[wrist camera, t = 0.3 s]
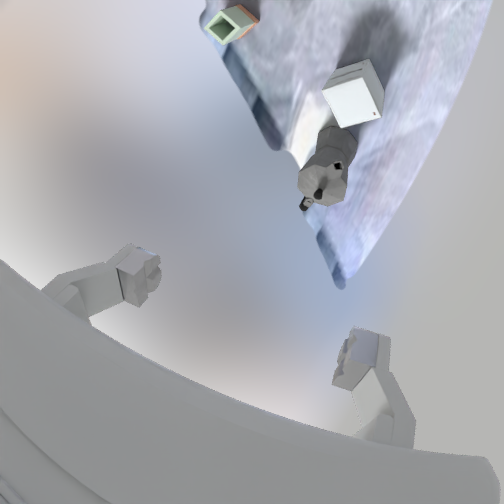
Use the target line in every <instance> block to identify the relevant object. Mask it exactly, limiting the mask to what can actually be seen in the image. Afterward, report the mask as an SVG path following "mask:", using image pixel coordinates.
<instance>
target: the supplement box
mask: <svg viewBox="0 0 504 504" xmlns="http://www.w3.org/2000/svg"><path fill="white" fill-rule="evenodd" d="M322 93H323V95H324V97H325V99H326V100H327V102H328V104H329V106H330V108H331V110H332V112H333V114H334V116H335V118H336V120H337V122H338V124H339V126H340V128H344V127H348V126H351V125H355V124H359V123H363V122H366V121H370V120H374V119H378V118H382V111H383V102H384V93H385V91H384V89H383V87H382V84H381V82H380V80H379V78H378V76H377V74H376V71H375V69H374V67H373V65H372V63H371V61H370V59H366V60H363V61H360V62H358V63H355V64H351V65H348V66H345V67H342V68H339V69H336V70H335V71H334V72H333V74H332V75H331V77H330V78H329V80H328V81H327V83H326V84H325V86H324V87H323V89H322Z"/></svg>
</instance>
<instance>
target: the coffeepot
mask: <svg viewBox="0 0 504 504" xmlns="http://www.w3.org/2000/svg"><path fill="white" fill-rule="evenodd" d="M357 145H358V143H357V142H356V140H355V139H354V137H353V136H352V134H351V133H350V132H349V131H348V130H345V129H343V128H340V127H333V126H330V127H329V128H326V129H324V130H323V131H321V132H320V133H318V138H317V145H316V151H315V154H314V155H313V156H312V157H311V158H310V159H309V160H308V162H307V163H306V164H305V165H304V167H303V168H302V169H301V170H300V171H299V176H298V186H297V187H298V188H299V190H300V191H301V192H302V193H303V194H304V199H303V200H302V202H301V204H300V206H299V207H300V209H301V210H302V211H306V210H307V209H308V207H310V206H311V205H312V204H313V202H314V203H318V204H321V205H325V206H330V205H333V204H335V203H338V202H341V201H343V200H344V196H345V192H346V188H347V178H348V167H349V165H350V164H351V162H352V161H353V159H354V157H355V154H356V149H357Z"/></svg>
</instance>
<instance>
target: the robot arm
mask: <svg viewBox="0 0 504 504" xmlns="http://www.w3.org/2000/svg"><path fill="white" fill-rule="evenodd" d="M159 264H160V257H159V256H158V255H156V254H154V253H152V252H150V251H147V250H145V249H143V248H141V247H138V246H135V245H133V244H127V245H126V246H125V247H124V248H122V249H121V250H120V251H119V252H118V253H117V254H115V255H114V256H113V257H112V258H111V259H110V260H109V261H107V262H106V263H104V262H102V263H98V264H94V265H91V266H87V267H84V268H80V269H77V270H73V271H70V272H66V273H63V274H60V275H58V276H57V277H55V278H54V279H53V280H52V281H51V282H50V283H48V284H47V285H46V286H45V287H44V288H43V289H42V290H41V291H40V290H39V289H38V288H36V287H35V286H34V285H32V284H31V283H30V282H28V281H27V280H26V279H24V278H23V277H22V276H21V275H19V274H18V273H17V272H16V271H15V270H13V269H12V268H11V267H10V266H9V265H7V264H6V263H5V262H4V261H2V260H1V259H0V504H499V501H500V483H499V481H498V478H497V476H496V474H495V472H494V470H493V467H492V466H491V464H490V462H489V461H488V459H487V458H485V457H481V456H468V455H455V454H445V453H436V452H429V451H421V450H414V449H413V445H414V435H415V426H416V420H415V417H414V415H413V413H412V411H411V409H410V408H409V405H408V403H407V401H406V399H405V397H404V395H403V393H402V391H401V389H400V387H399V385H398V383H397V381H396V380H395V377H394V375H393V374H392V372H389V360H390V345H391V344H390V343H391V339H390V337H388V336H384V335H381V334H377V333H375V332H372V331H368V330H365V329H362V328H359V327H356V326H354V327H353V328H352V329H351V331H350V334H349V338H348V339H346V340H345V341H344V343H343V346H342V347H341V350H340V353H339V356H338V360H337V362H338V367H337V368H336V370H335V373H334V377H333V381H332V385H334V386H337V387H340V388H343V389H346V390H349V391H352V392H351V394H352V397H353V400H354V403H355V406H356V410H357V412H358V416H359V419H360V422H361V426H362V429H361V430H360V431H358V432H357V433H356V434H354V435H353V436H352V437H350V436H346V435H342V434H338V433H334V432H330V431H327V430H324V429H320V428H317V427H313V426H310V425H306V424H303V423H300V422H297V421H294V420H291V419H288V418H285V417H282V416H279V415H276V414H273V413H270V412H268V411H265V410H262V409H259V408H257V407H254V406H251V405H249V404H246V403H244V402H241V401H239V400H236V399H234V398H231V397H229V396H226V395H224V394H221V393H219V392H217V391H215V390H212V389H210V388H208V387H205V386H203V385H201V384H199V383H197V382H194V381H192V380H190V379H188V378H186V377H184V376H182V375H180V374H177V373H175V372H173V371H171V370H169V369H167V368H165V367H163V366H161V365H159V364H157V363H156V362H154V361H152V360H150V359H148V358H146V357H144V356H142V355H140V354H139V353H137V352H135V351H133V350H132V349H130V348H128V347H126V346H124V345H123V344H120V343H119V342H118V341H116V340H114V339H112V338H110V337H109V336H107V335H106V334H104V333H102V332H101V331H99V330H98V329H96V328H94V327H93V326H92V325H91V322H90V320H89V317H90V316H92V315H94V314H97V313H99V312H101V311H103V310H105V309H108V308H110V307H112V306H114V305H117V304H119V303H121V302H123V301H126V302H128V303H131V304H133V305H135V306H137V307H140V306H141V305H142V304H143V303H144V302H145V301H146V299H147V298H148V293H149V292H153V291H154V290H155V289H156V288H157V287H158V285H159V283H160V280H161V270H160V268H159V267H158V265H159Z"/></svg>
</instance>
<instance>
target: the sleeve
mask: <svg viewBox="0 0 504 504" xmlns="http://www.w3.org/2000/svg"><path fill="white" fill-rule="evenodd" d="M257 23H259V20H258V19H257V18H255V17H254V16H253V15H252V14H251V13H250V12H249V11H248V10H247V9H245V8H244V7H243V6H242V5H241V4H239V5H236V6H234V7H230V8H227V9H223V10H220V11H219V12H218V13H217V14H216V15H215V17H214V18H213V19H212V20H211V21H210V22H209V23H208V24H207V25H206V27H205V28H204V29H205V30H206V31H207V32H209V33H210V34H211V35H212V36H213V37H214V38H215V39H216V40H217V41H219V42H220V43H221V44H222V45H225V44H227V43H229V42H231V41H233V40H236V39H240V38H242V37H243V36H244V35H245V34H246V33H247V32H249V31H250V30H251V29H252V28H253V27H254V26H255V25H256V24H257Z"/></svg>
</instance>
